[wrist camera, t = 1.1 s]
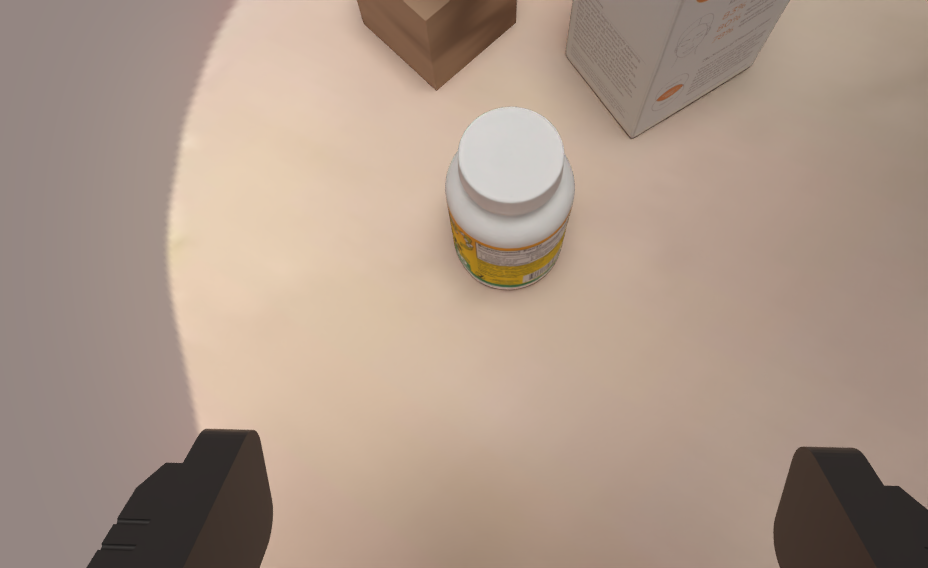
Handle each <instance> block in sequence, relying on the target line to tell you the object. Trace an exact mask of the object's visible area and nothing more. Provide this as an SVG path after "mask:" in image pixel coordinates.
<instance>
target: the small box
mask: <svg viewBox="0 0 928 568" xmlns="http://www.w3.org/2000/svg"><path fill="white" fill-rule="evenodd" d="M789 1H790V0H573V3H572V10H571V18H570V25H569V31H568V38H567V45H566V56H567V58H568V59H569V60H570V61H571V63H572V64H573V65H574V66H575V68H576V69H577V70H578V71H579V73H580V74H581V75H582V77H583V78H584V79H585V80H586V82H587V83H588V84H589V85H590V87H591V88H592V89H593V90H594V92H595V93H596V94H597V96H598V97H599V98H600V99H601V101H602V102H603V103H604V105H605V106H606V107H607V109H608V110H609V111H610V112H611V114H612V115H613V116H614V117H615V119H616V120H617V121H618V122H619V124H620V125H621V126H622V127H623V129H624V130H625V131H626V132H627V134H628V135H629V136H630V137H631V138H634V137H636V136H637V135H639V134H641V133H642V132H644V131H646V130H647V129H649V128H651V127H652V126H654V125H656V124H657V123H659V122H661V121H662V120H664V119H665V118H667V117H669V116H670V115H672V114H674V113H675V112H677V111H679V110H680V109H682V108H683V107H685V106H687V105H688V104H690V103H692V102H693V101H695V100H697V99H698V98H700V97H701V96H703V95H705V94H706V93H708V92H710V91H711V90H713V89H714V88H716V87H718V86H719V85H721V84H723V83H724V82H726V81H727V80H729V79H731V78H732V77H734V76H735V75H737V74H738V73H740V72H742V71H743V70H745V69H747V68H748V67H750V66H751V65H752V64H753V62H754V60H755V58H756V57H757V55H758V53H759V52H760V50H761V48H762V47H763V45H764V43H765V42H766V40H767V38H768V37H769V35H770V33H771V31H772V29H773V28H774V26H775V24H776V23H777V21H778V19H779V18H780V16H781V14H782V13H783V11H784V9H785V8H786V6H787V4H788V3H789Z"/></svg>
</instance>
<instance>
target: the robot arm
mask: <svg viewBox="0 0 928 568" xmlns="http://www.w3.org/2000/svg"><path fill="white" fill-rule="evenodd" d="M272 521H273V504H272V498H271V492H270V487H269V482H268V477H267V472H266V467H265V461H264V456H263V451H262V446H261V441H260V437H259V435H258V433H257V432H256V431H255V430H233V429H205V430H203V431H202V432H201V433H200V434H199V436H198V437H197V439H196V441H195V443H194V444H193V446H192V448H191V450H190V451H189V453H188V455H187V457H186V458H185V460H184V462H183V463H165V464H164V465H163V466H161V467H160V468H159V469H158V470H157V471H156V472H154V473H153V474H152V475H151V476H150V477H149V478H147V479H146V480H145V481H144V482H143V483H142V484H140V485H139V486H138V487H137V488H136V489H135V491H134V492H133V494H132V496H131V497H130V499H129V501H128V502H127V504H126V505H125V507H124V508H123V510H122V512H121V513H120V515H119V517H118V521H117V524H113V526H112V528H111V529H110V531H109V532H108V534H107V536H106V537H105V539H104V541H103V542H102V548H101V550H97V552H96V553H95V555H94V557H93V558H92V560H91V562H90V563H89V565H88V566H87V568H260V565H261V562H262V560H263V557H264V554H265V551H266V549H267V546H268V543H269V539H270V534H271V529H272ZM773 533H774V546H775V552H776V556H777V560H778V563H779V566H780V568H928V510H927V509H926V508H925V507H924V506H922V505H921V504H920V503H919V502H917V501H916V500H915V499H914V498H913V497H911V496H910V495H909V494H908V493H907V492H905V491H904V490H903V489H902V488H900V487H899V486H884V485H883V483H882V482H881V480H880V479H879V477H878V476H877V474H876V473H875V471H874V470H873V468H872V467H871V465H870V463H869V462H868V460H867V459H866V457H865V456H864V455H863V454H862V453H861V452H860V451H859V450H857V449H855V448H836V447H800V448H798V449H797V450H796V452H795V454H794V456H793V459H792V462H791V466H790V469H789V472H788V476H787V479H786V483H785V486H784V490H783V493H782V496H781V500H780V503H779V507H778V510H777V513H776V517H775V521H774V532H773Z"/></svg>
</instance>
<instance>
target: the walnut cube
mask: <svg viewBox="0 0 928 568" xmlns="http://www.w3.org/2000/svg"><path fill="white" fill-rule="evenodd" d="M357 2H358V5H359V9H360V12H361V15H362V19H363V22H364V24H365V25H366V26H367V27H368V28H369V29H370V30H371V31H372V32H374V33H375V34H376V35H377V36H378V37H379V38H380V39H381V40H382V41H383V42H384V43H385V44H387V45H388V46H389V47H390V48H391V49H392V50H393V51H394V52H395V53H396V54H397V55H398V56H400V57H401V58H402V59H403V60H404V61H405V62H406V63H407V64H408V65H409V66H410V67H411V68H413V69H414V70H415V71H416V72H417V73H418V74H419V75H420V76H421V77H422V78H423V79H424V80H426V81H427V82H428V83H429V84H430V85H431V86H432V87H433V88H434V89H435V90H436V91H437V90H438V89H439V88H440V87H441V86H443V85H444V84H445V83H446V82H447V81H448V80H450V79H451V78H452V77H453V76H454V75H455V74H457V73H458V72H459V71H460V70H461V69H462V68H464V67H465V66H466V65H467V64H468V63H469V62H471V61H472V60H473V59H474V58H475V57H476V56H478V55H479V54H480V53H481V52H482V51H483V50H485V49H486V48H487V47H488V46H489V45H490V44H491V43H493V42H494V41H495V40H496V39H497V38H498V37H500V36H501V35H502V34H503V33H504V32H505V31H507V30H508V29H509V28H510V27H511V26H512V25H514V24H515V23H516V5H517V0H357Z"/></svg>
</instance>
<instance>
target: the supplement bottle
mask: <svg viewBox="0 0 928 568" xmlns="http://www.w3.org/2000/svg"><path fill="white" fill-rule="evenodd" d="M445 192H446V200H447V205H448V210H449V216H450V222H451V227H452V233H453V239H454V244H455V248H456V251H457V254H458V257H459V259H460V261H461V262H462V264H463V265H464V267H465V268H466V270H467V271H468V272H469V273H470V274H471V275H472V276H473V277H474V278H475V279H476V280H478V281H479V282H481V283H483V284H485V285H487V286H490V287H493V288H497V289H508V290H511V289H519V288H523V287H526V286H529V285H531V284H533V283H535V282H537V281H538V280H540V279H541V278H542V277H544V276H545V275H546V274H547V273H548V272H549V271H550V270H551V268H552V267H553V265H554V264H555V262H556V260H557V258H558V256H559V253H560V250H561V247H562V242H563V238H564V235H565V230H566V226H567V223H568V219H569V215H570V212H571V208H572V204H573V199H574V192H575V183H574V175H573V171H572V168H571V165H570V163H569V161H568V159H567V157H566V155H565V154H564V146H563V143H562V140H561V137H560V135H559V133H558V131H557V130H556V128H555V127H554V126H553V125H552V124H551V123H550V122H549V121H548V120H547V119H546V118H545V117H543V116H542V115H540V114H538V113H536V112H534V111H532V110H529V109H526V108H521V107H501V108H497V109H494V110H491V111H488V112H486V113H484V114H482V115H480V116H479V117H478V118H476V119H475V120H474V121H473V122H472V123H471V124H470V125H469V126H468V127H467V129H466V130H465V132H464V134H463V136H462V138H461V140H460V143H459V148H458V151H457V153H456V154H455V156H454V157H453V159H452V161H451V163H450V166H449V168H448V172H447V176H446V184H445Z"/></svg>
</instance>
